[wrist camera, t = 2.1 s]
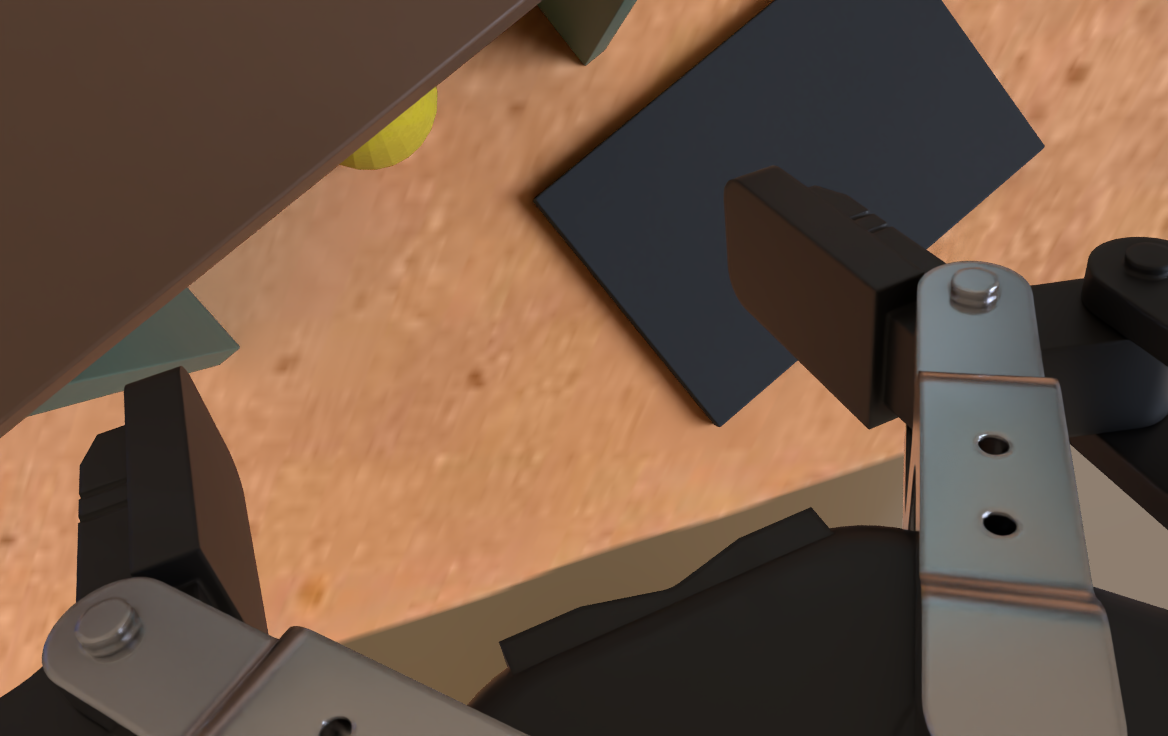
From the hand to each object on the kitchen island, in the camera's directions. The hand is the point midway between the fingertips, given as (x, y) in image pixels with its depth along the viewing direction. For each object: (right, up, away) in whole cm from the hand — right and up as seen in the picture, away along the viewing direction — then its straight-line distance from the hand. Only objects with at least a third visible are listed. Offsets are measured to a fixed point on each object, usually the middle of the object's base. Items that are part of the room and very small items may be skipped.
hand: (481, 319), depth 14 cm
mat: (+11, +8, +30) cm, 33 cm away
